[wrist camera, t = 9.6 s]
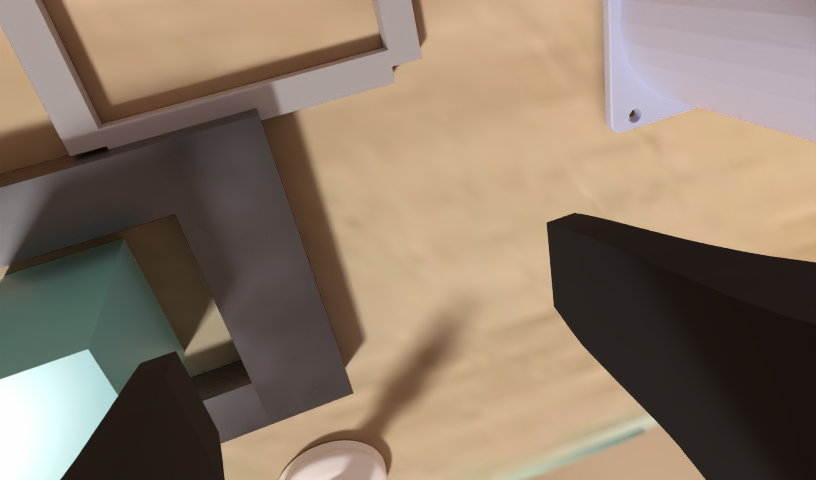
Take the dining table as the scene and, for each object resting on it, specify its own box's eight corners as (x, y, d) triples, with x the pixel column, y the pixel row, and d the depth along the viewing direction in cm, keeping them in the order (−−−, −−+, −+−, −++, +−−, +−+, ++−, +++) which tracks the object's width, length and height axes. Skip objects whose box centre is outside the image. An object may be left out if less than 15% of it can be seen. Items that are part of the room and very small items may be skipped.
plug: (124, 237, 18) (87, 349, 13) (184, 351, 20) (175, 484, 15) (4, 275, 17) (-84, 408, 12) (81, 387, 20) (34, 539, 14)
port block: (255, 103, 17) (259, 114, 16) (345, 368, 23) (353, 393, 21) (-266, 248, 15) (-311, 275, 14) (-27, 506, 20) (-43, 543, 19)
